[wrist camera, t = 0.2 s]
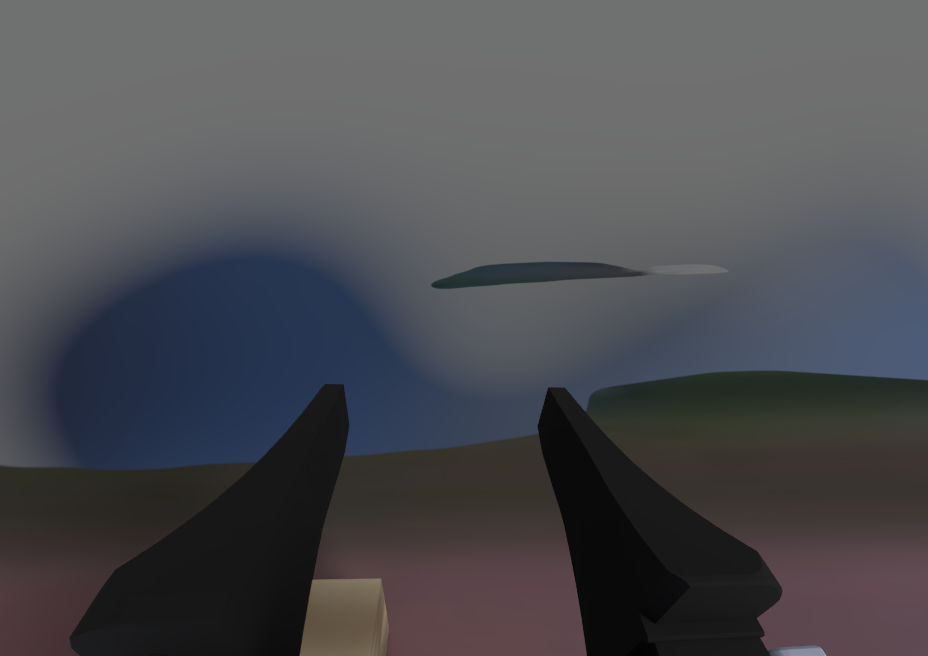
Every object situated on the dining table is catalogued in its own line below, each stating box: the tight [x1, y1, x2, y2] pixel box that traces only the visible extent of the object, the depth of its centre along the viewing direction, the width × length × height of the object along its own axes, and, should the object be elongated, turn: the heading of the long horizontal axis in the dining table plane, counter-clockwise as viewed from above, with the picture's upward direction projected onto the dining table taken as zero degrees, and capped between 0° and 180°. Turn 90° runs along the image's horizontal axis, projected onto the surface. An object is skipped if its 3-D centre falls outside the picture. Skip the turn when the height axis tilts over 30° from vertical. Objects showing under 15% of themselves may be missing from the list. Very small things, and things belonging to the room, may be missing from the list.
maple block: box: [300, 579, 389, 656], centre depth 22 cm, size 4×4×7 cm
